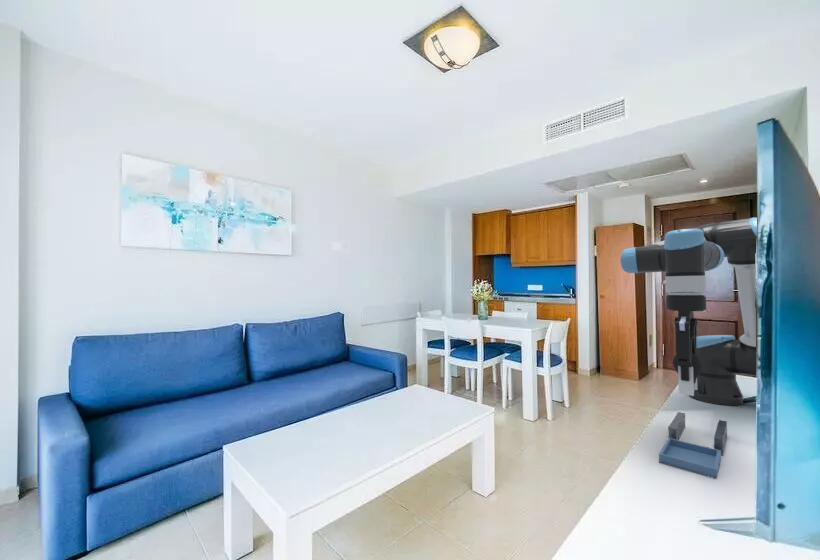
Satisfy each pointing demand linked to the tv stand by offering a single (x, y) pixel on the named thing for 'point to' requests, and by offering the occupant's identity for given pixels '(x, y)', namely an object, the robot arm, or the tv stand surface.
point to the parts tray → (691, 457)
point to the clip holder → (679, 426)
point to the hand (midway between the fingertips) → (688, 391)
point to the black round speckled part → (696, 366)
